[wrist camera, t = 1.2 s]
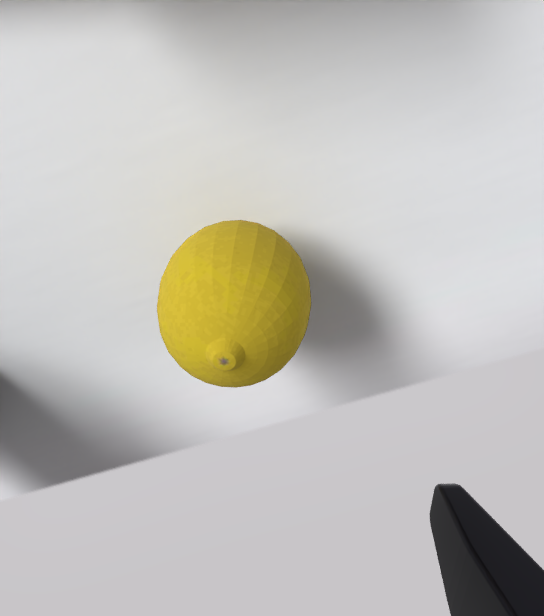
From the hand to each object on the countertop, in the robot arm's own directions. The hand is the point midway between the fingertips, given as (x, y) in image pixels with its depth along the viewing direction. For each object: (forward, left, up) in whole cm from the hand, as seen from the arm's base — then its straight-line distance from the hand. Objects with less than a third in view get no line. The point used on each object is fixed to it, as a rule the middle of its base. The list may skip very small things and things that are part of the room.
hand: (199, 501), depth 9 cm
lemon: (0, 0, -13) cm, 13 cm away
